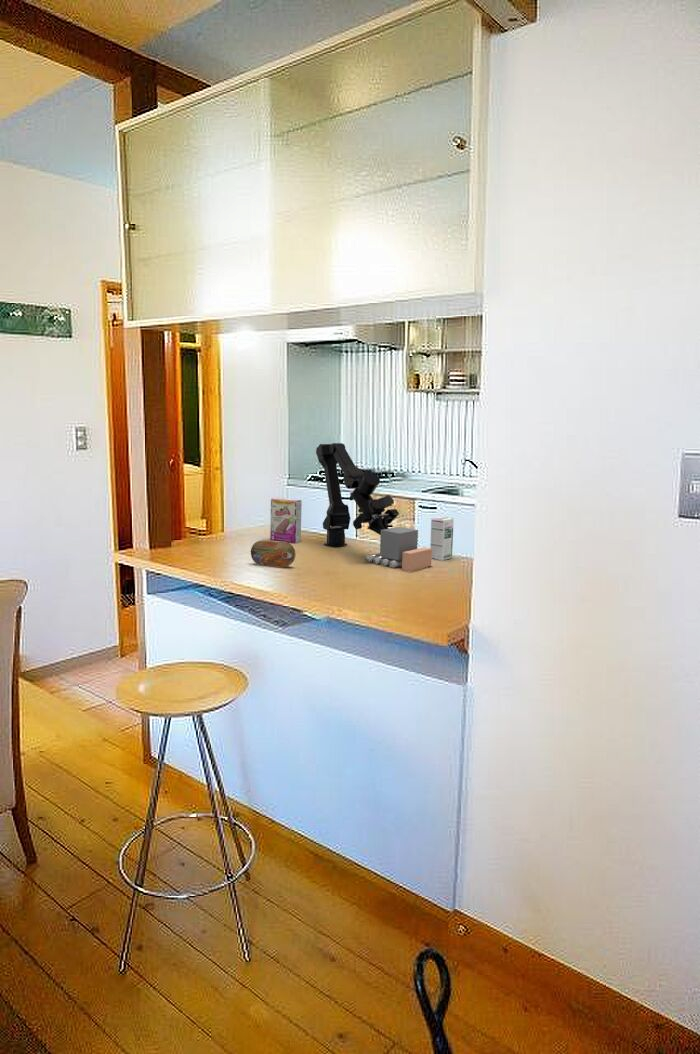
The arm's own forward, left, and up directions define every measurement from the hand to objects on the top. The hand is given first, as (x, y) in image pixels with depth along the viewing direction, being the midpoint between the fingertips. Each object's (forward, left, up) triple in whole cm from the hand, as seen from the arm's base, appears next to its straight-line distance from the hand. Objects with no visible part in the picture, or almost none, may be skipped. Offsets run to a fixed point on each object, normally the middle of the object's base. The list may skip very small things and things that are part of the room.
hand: (388, 538), depth 239 cm
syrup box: (+8, +19, -8) cm, 23 cm away
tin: (-22, -33, -9) cm, 40 cm away
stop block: (+12, 0, -8) cm, 15 cm away
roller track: (+1, 0, -8) cm, 8 cm away
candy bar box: (-50, -2, -8) cm, 50 cm away
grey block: (+4, 0, -6) cm, 7 cm away
